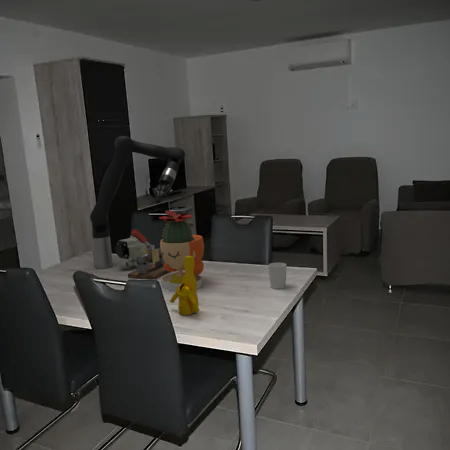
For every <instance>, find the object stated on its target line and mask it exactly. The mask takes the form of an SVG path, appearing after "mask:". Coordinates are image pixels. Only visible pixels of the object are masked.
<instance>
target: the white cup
mask: <svg viewBox="0 0 450 450" xmlns="http://www.w3.org/2000/svg"><path fill="white" fill-rule="evenodd" d="M268 276H269V284H270V288H272V289H275V290H276V289H278V290H280V289H284V288H286V286H287V285H286V284H287V283H286V282H287V263H285V262H272V263H269V264H268Z"/></svg>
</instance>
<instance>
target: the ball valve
mask: <svg viewBox="0 0 450 450" xmlns="http://www.w3.org/2000/svg"><path fill="white" fill-rule="evenodd" d="M144 237H145V238H146V236H144ZM146 239H147V238H146ZM146 241H147V242H148V243H149V241H148V239H147V240H146ZM114 249H115V255H116V256H117V257H119V258H120V259H124V260H127V261H125V268H126V269H129V268H130V269H129V270H131V269H134V268H136V269H138V267H137V263H136V257H138V256H140V255H142V251H144V250H146V245H145V244H144V243H141V242H140V241H139V240H137V239H136V238H135V237H134V236H133V235H130V237H128V238H125V239H120V240H117V244H116V246H115V247H114ZM129 259H130V260H129Z"/></svg>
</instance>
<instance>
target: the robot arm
mask: <svg viewBox="0 0 450 450" xmlns="http://www.w3.org/2000/svg"><path fill="white" fill-rule="evenodd" d="M113 144H114V148H115V151H114V155H113V159H112V160H111V162H110V163H109V165H108V167H107V169H106V170H105V173H104V175H103V178H102V181H101V185H100V188H99V192H98V196H97V200H96V202H95V204H94V207H93V209H92V211H91V213H90V216H89V219H90V223H91V228H92V242H93V251H92V254H93V255H92V256H93V264H94V268H96V269H108V268H111V267H113V265H114V264H113V254H112V245H111V237H110V236H111V234H110V223H109V222H110V220H109V211H110V207H111V205H112V202H113V200H114V198H115V195H116V194H117V192H118V189H119V187H120V184H121V182H122V179H123V175H124V172H125V168H126V165H127V162H128V160H129V158H130V155H131V153H136V154H140V155H144V156H148V157H150V158H154V159H160V160H167V159H168V160H167V164H166V166H165V168H164V170H163V172H161V173H162V174H161V176H160V177H159V180H158V185H157V186H156V187H154V188H151V189H152V191H153V194H154V197H155V199H154V202H155V203H156V204H157V205H158V204H160V203H161V202H162V199H163V198H166V197H168V196H169V195H171V194H172V193H173V191H174V190H173V188H172V186H173V183H175V179H176V177H177V174H178V171H179V167H180V166H179V165H180V163H181V162H182V161H183V160H184V159H185V157H186V152H185V150H184V149H182V148H181V147H177V146H176V147H174V146H171V147H169V146H167V147H165V146H162V145H157V144H152V143H145V142H140V141H138V140H134V139H132V138H130V137H129V136H126V135H119V136H118V137H116V138H115V139H114V142H113Z"/></svg>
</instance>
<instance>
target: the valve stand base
mask: <svg viewBox="0 0 450 450" xmlns="http://www.w3.org/2000/svg"><path fill="white" fill-rule="evenodd" d="M148 266H149V274H147V275H144V274H138V269H136V270H134V271H131V272H129V273H127V278H128V279H138V280H139V279H140V280H148V279H155V280H158V279H159V278H161V277H162V276H164V275H167V274H170V273H172V272H171V271H167V270H166V269H165V268H164V267H158V266H155V263H148Z"/></svg>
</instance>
